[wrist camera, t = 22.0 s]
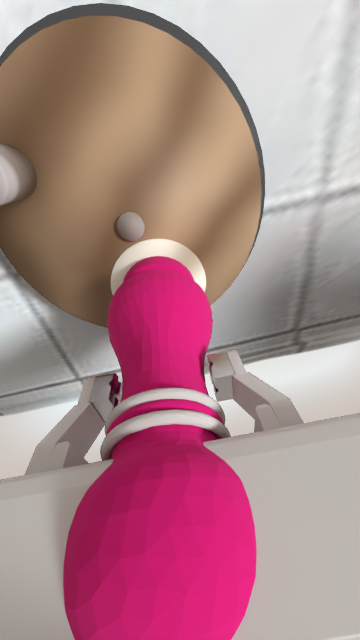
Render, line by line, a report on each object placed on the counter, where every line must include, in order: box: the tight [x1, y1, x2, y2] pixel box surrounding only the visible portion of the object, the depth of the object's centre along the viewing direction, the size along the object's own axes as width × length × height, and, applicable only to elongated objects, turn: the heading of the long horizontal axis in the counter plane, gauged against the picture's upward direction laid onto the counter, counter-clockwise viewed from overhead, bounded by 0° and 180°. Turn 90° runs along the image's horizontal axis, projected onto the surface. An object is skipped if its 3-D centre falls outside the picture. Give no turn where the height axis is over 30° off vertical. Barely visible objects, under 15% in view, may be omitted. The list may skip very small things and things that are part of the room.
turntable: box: [0, 16, 262, 327], centre depth 16 cm, size 20×20×6 cm
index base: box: [0, 3, 265, 270], centre depth 20 cm, size 22×25×1 cm
